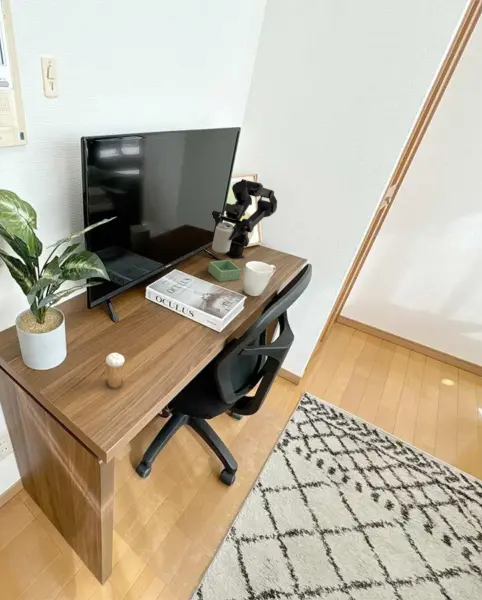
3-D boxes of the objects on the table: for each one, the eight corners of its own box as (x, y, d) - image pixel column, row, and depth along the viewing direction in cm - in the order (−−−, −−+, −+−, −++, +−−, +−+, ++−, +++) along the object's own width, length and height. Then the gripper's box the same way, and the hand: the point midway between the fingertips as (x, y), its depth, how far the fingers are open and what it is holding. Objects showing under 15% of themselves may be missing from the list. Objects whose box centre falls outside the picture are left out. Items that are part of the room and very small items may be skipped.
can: (230, 254, 138) (237, 228, 131) (213, 253, 138) (219, 227, 131) (226, 247, 144) (232, 221, 138) (210, 246, 144) (215, 221, 138)
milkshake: (119, 394, 79) (121, 364, 73) (101, 384, 81) (102, 355, 76) (129, 382, 82) (131, 353, 77) (111, 374, 84) (112, 345, 79)
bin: (226, 269, 141) (228, 259, 139) (238, 279, 134) (241, 269, 131) (207, 271, 138) (209, 261, 136) (219, 281, 131) (221, 271, 129)
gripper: (217, 190, 136) (197, 221, 136) (257, 201, 125) (237, 234, 125) (223, 206, 145) (205, 234, 145) (261, 216, 134) (242, 247, 134)
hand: (221, 237), depth 137 cm, fingers closed on can, 7 cm apart
